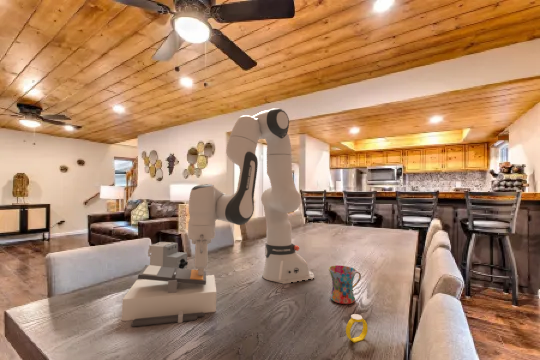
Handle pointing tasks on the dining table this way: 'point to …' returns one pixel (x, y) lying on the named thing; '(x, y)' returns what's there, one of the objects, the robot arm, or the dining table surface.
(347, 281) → the mug
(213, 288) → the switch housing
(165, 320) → the dark grey piece
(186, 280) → the block
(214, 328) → the dining table surface
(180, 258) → the circuit breaker
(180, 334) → the dining table surface
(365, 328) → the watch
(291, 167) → the robot arm
